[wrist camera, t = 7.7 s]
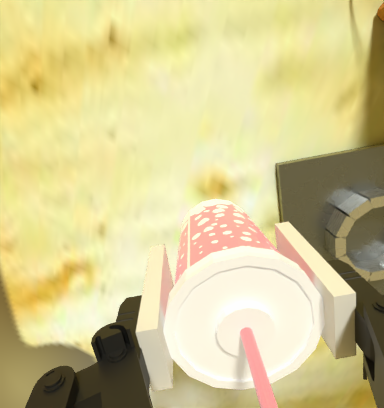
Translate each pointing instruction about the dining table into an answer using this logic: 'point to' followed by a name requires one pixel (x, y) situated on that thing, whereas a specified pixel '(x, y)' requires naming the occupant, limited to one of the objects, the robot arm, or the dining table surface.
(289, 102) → the dining table surface
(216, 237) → the beverage cup
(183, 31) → the dining table surface
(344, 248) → the cup holder
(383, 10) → the multimeter
